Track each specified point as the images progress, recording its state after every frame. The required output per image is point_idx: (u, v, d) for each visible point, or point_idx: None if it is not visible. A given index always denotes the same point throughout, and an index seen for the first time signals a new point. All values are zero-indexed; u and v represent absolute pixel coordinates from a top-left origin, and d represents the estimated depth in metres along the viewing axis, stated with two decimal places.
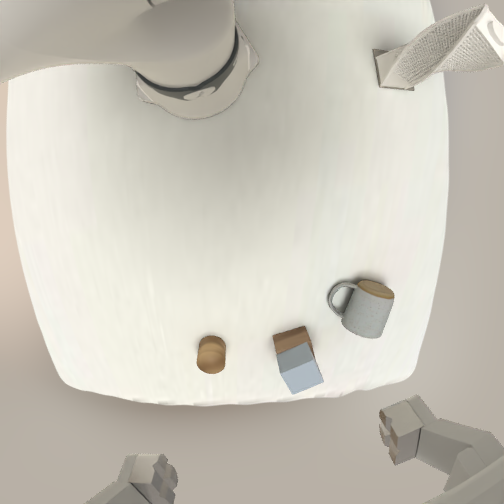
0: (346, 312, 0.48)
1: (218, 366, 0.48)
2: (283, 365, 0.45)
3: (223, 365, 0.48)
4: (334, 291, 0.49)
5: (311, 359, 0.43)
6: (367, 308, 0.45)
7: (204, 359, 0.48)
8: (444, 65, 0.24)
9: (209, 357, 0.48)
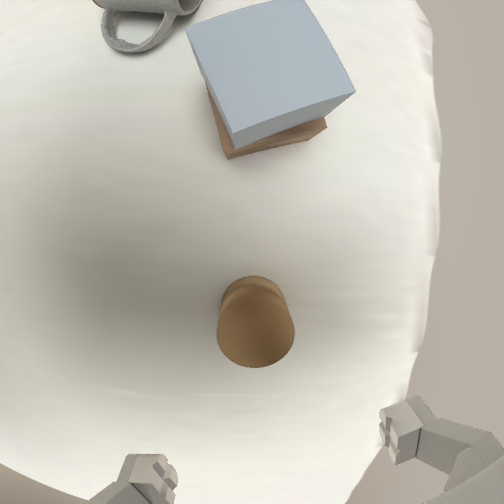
0: (152, 8, 0.15)
1: (268, 318, 0.18)
2: (227, 124, 0.12)
3: (265, 305, 0.18)
4: (117, 45, 0.17)
5: (187, 35, 0.10)
6: None
7: (242, 349, 0.18)
8: None
9: (235, 337, 0.18)
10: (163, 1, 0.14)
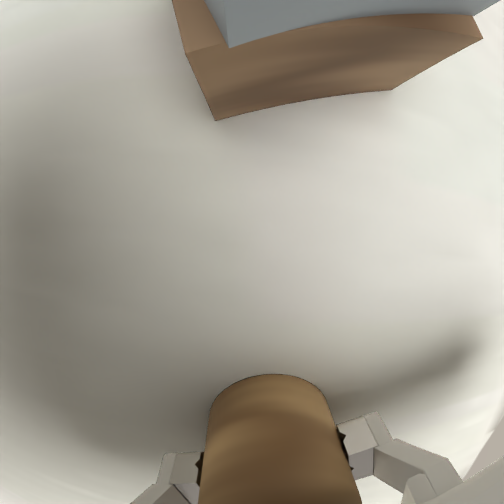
0: None
1: None
2: None
3: (309, 490, 0.05)
4: None
5: None
6: None
7: None
8: None
9: None
10: None
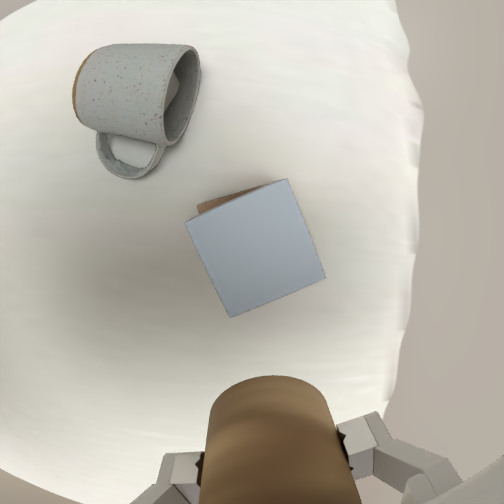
0: None
1: None
2: None
3: (309, 491, 0.05)
4: (115, 169, 0.22)
5: None
6: (97, 105, 0.16)
7: None
8: None
9: None
10: (153, 141, 0.19)
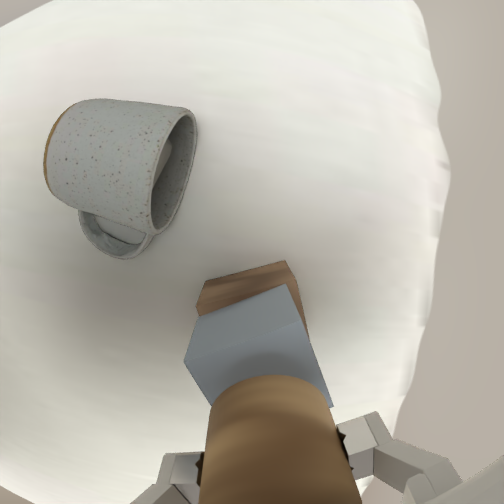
0: None
1: None
2: None
3: (309, 490, 0.05)
4: (102, 246, 0.20)
5: None
6: (72, 190, 0.14)
7: None
8: None
9: None
10: None
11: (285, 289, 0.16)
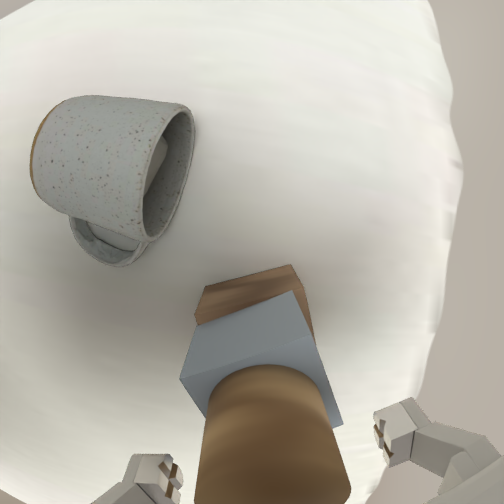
0: None
1: (302, 486, 0.06)
2: None
3: (298, 471, 0.06)
4: (95, 253, 0.19)
5: None
6: (59, 194, 0.13)
7: None
8: None
9: None
10: None
11: (292, 297, 0.15)
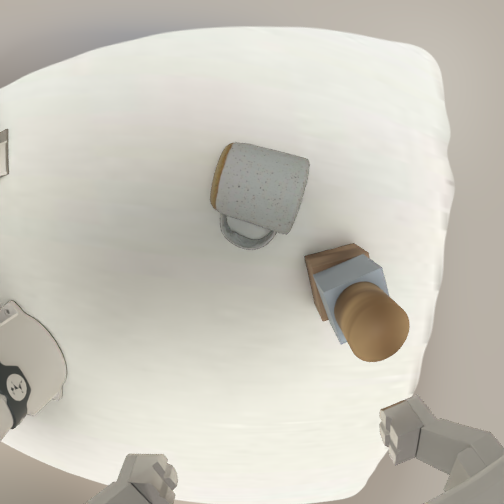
0: None
1: (392, 318, 0.19)
2: (334, 329, 0.27)
3: (391, 307, 0.19)
4: (234, 241, 0.32)
5: (323, 294, 0.25)
6: (239, 205, 0.26)
7: (368, 347, 0.20)
8: None
9: (364, 337, 0.20)
10: None
11: (364, 256, 0.28)
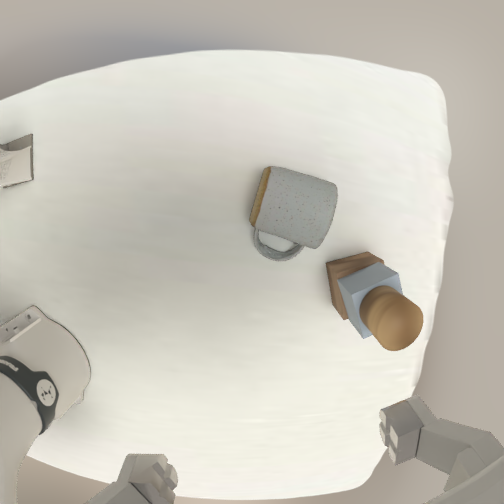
0: None
1: (410, 314, 0.24)
2: (357, 326, 0.31)
3: (410, 305, 0.23)
4: (265, 253, 0.36)
5: (351, 296, 0.29)
6: (278, 224, 0.30)
7: (391, 338, 0.24)
8: None
9: (389, 330, 0.24)
10: (307, 246, 0.33)
11: (380, 264, 0.32)
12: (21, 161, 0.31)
